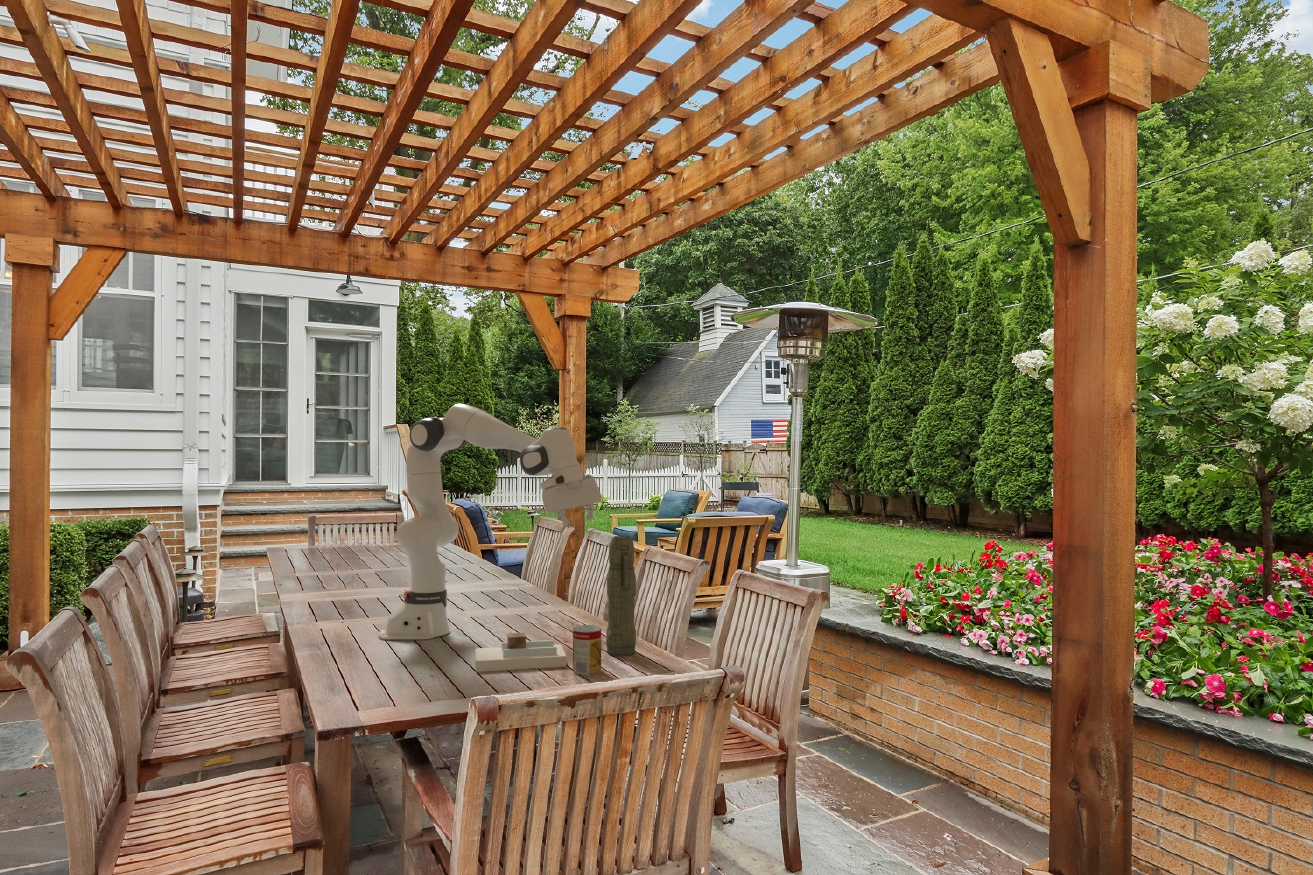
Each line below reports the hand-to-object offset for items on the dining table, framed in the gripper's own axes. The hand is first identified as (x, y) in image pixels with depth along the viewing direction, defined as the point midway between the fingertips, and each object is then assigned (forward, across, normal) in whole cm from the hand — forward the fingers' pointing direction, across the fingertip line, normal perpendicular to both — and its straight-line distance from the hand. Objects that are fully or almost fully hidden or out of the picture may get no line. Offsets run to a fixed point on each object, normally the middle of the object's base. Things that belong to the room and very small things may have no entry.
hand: (579, 522), depth 245 cm
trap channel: (+35, +23, -14) cm, 44 cm away
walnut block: (+32, +23, -13) cm, 41 cm away
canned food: (+41, +16, +6) cm, 44 cm away
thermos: (+41, -5, -2) cm, 42 cm away
